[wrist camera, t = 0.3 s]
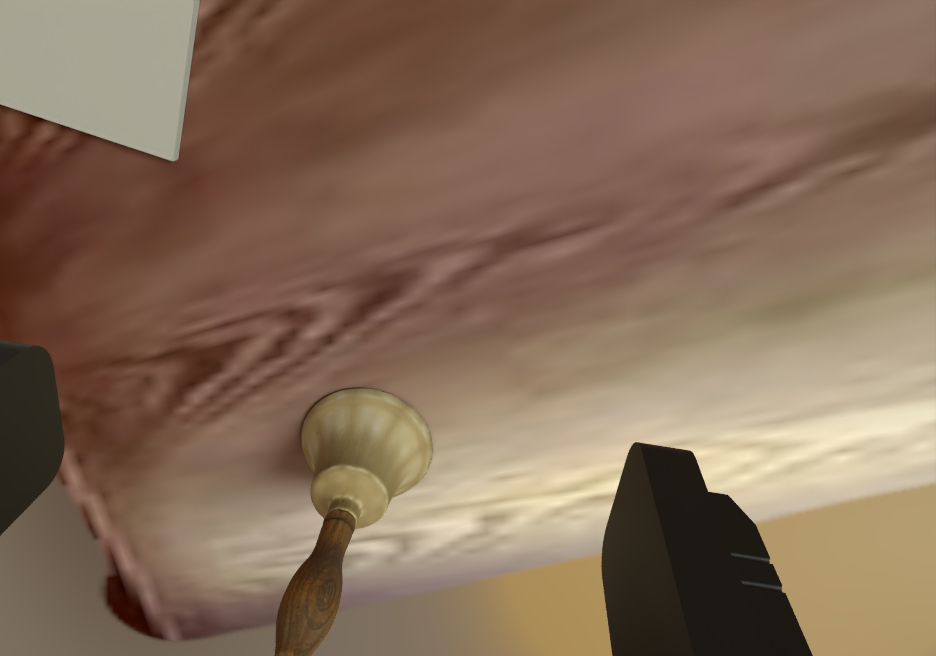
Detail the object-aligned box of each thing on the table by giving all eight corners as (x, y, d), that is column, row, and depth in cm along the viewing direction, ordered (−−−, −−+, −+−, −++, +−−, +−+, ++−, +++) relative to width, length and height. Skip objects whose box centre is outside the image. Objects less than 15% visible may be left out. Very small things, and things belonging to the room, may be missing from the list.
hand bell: (418, 509, 45) (370, 744, 31) (294, 480, 45) (187, 704, 30) (445, 404, 42) (406, 614, 27) (311, 372, 41) (199, 568, 27)
